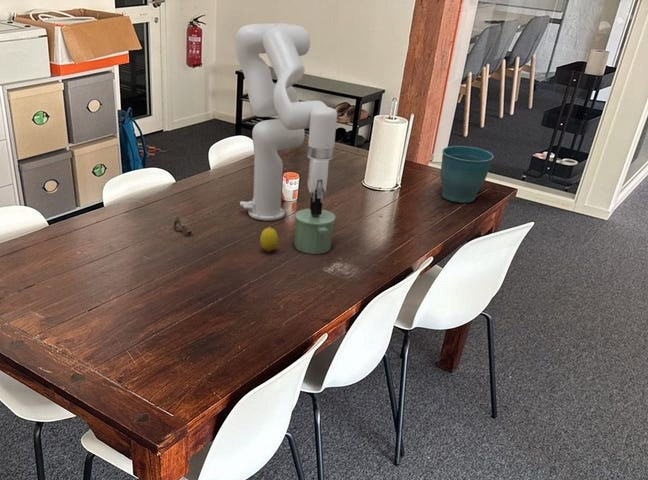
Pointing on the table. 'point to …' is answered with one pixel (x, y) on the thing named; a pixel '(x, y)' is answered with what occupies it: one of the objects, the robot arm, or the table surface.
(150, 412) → the table surface
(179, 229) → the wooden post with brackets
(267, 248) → the lemon
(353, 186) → the table surface
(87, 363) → the table surface
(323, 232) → the crock
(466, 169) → the flower pot
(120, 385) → the table surface
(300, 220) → the lid
